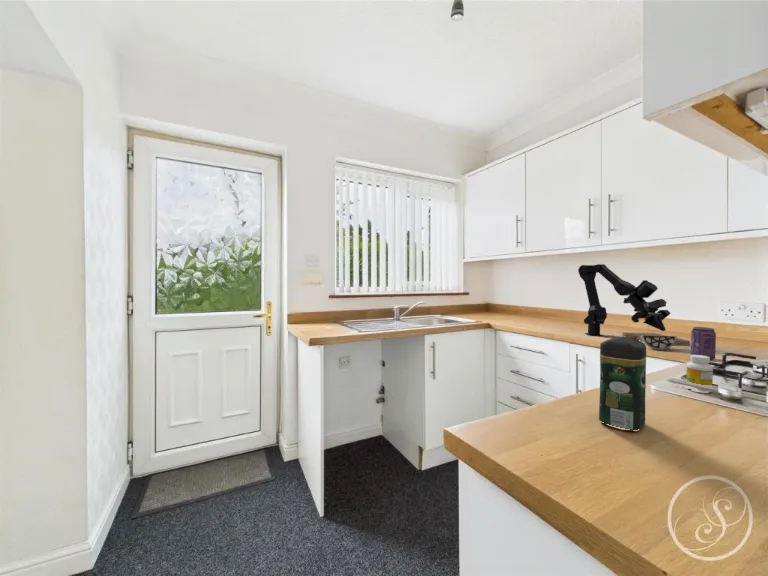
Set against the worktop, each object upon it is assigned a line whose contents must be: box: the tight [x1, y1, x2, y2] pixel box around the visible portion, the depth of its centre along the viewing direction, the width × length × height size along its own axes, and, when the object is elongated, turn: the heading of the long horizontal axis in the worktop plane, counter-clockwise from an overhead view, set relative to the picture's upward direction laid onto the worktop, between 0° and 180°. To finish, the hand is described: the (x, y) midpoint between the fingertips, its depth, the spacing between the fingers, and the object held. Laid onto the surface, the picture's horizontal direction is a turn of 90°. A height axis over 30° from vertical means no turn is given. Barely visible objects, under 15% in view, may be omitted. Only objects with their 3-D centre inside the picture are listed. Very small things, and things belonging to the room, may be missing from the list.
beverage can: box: [690, 326, 717, 361], centre depth 135 cm, size 7×7×12 cm
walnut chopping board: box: [621, 331, 691, 346], centre depth 174 cm, size 24×16×2 cm, turn 176°
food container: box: [641, 335, 678, 351], centre depth 153 cm, size 12×6×10 cm
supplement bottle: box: [685, 354, 714, 385], centre depth 95 cm, size 5×5×10 cm
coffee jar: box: [598, 336, 648, 430], centre depth 73 cm, size 10×8×19 cm
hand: (664, 330), depth 155 cm, fingers closed
